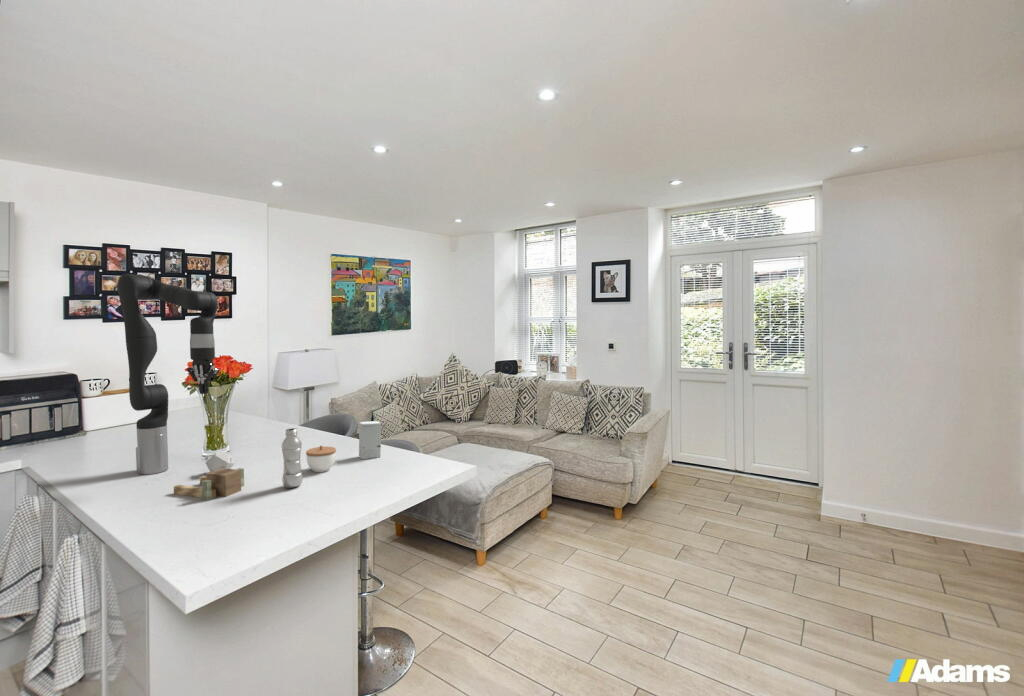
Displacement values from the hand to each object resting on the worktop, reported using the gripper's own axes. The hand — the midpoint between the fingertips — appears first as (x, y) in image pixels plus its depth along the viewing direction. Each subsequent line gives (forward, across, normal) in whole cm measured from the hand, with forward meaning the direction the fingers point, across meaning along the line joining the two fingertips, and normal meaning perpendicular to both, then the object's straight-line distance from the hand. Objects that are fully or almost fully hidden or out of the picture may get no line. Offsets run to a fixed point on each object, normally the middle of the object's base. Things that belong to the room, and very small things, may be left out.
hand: (204, 393), depth 172 cm
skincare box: (+31, +43, +40) cm, 67 cm away
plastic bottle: (+31, +38, 0) cm, 49 cm away
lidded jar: (+31, +35, +19) cm, 51 cm away
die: (+31, +1, +5) cm, 32 cm away
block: (+31, +20, -11) cm, 38 cm away
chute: (+31, +13, -11) cm, 35 cm away
